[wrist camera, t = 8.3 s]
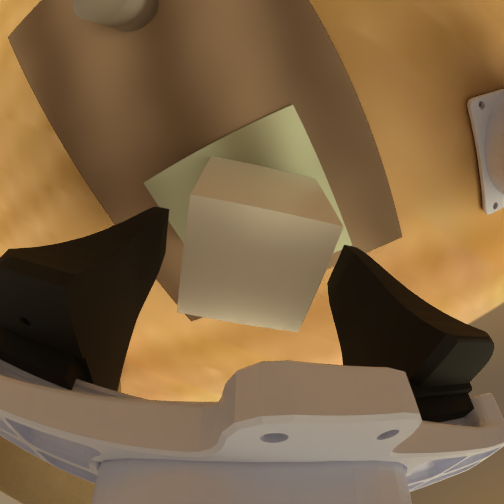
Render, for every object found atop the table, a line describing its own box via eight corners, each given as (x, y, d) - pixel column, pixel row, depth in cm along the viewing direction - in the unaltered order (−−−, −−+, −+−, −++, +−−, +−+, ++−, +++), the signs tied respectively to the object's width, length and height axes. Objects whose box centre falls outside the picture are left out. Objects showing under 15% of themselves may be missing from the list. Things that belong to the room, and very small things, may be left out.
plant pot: (33, 250, 18) (-85, 425, 4) (189, 357, 23) (161, 551, 9) (11, 337, 24) (-46, 452, 10) (120, 406, 29) (92, 527, 15)
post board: (224, -99, 6) (215, -144, 2) (394, 227, 17) (430, 273, 13) (19, 37, 10) (-35, 39, 6) (194, 309, 20) (182, 364, 16)
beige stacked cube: (315, 179, 14) (343, 226, 10) (287, 264, 16) (298, 332, 12) (211, 155, 13) (190, 194, 9) (196, 247, 16) (177, 312, 12)
